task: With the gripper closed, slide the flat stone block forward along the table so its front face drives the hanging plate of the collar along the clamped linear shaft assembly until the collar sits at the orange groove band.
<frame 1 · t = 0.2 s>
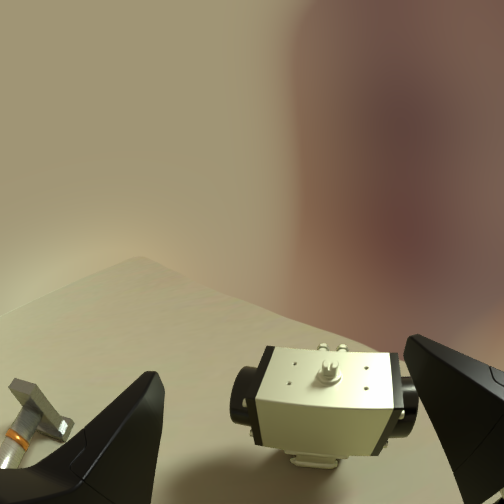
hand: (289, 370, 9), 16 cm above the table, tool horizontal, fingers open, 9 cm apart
linear shaft assembly: (24, 500, 9), on the table
pneumatic valve: (317, 450, 19), on the table
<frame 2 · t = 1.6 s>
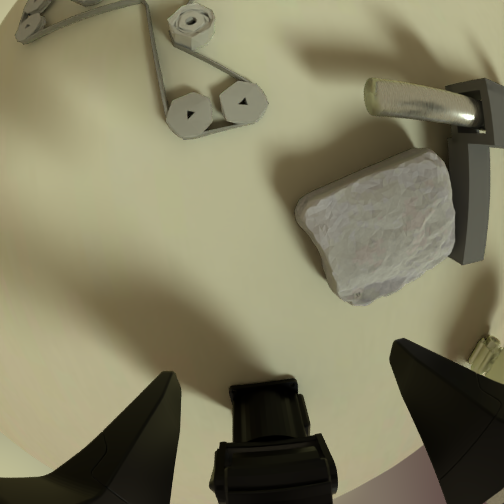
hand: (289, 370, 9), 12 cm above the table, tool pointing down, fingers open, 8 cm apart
collar: (481, 176, 15), point 4 cm above the table, slide at 0.2 cm
stone block: (377, 225, 20), on the table
linear shaft assembly: (451, 117, 17), on the table
pneumatic valve: (479, 348, 26), on the table
pulley system: (147, 6, 14), on the table
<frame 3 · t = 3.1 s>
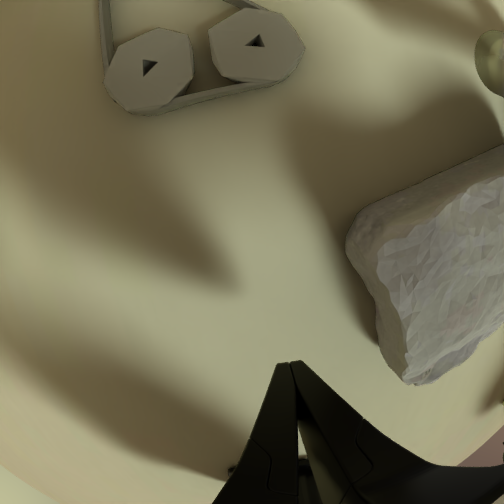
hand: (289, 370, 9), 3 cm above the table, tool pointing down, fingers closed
stone block: (455, 257, 11), on the table
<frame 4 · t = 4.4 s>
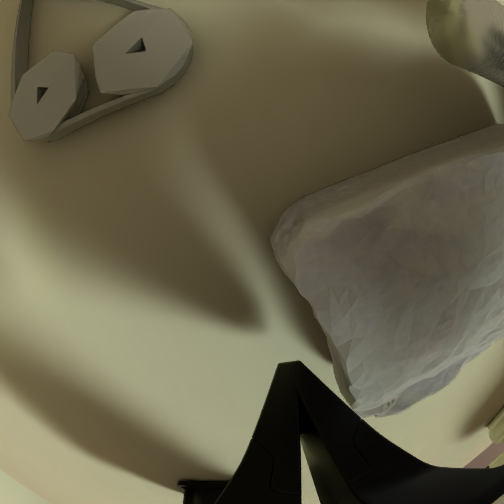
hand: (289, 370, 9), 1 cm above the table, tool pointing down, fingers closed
stone block: (434, 263, 10), on the table, touching gripper
pneumatic valve: (502, 410, 16), on the table
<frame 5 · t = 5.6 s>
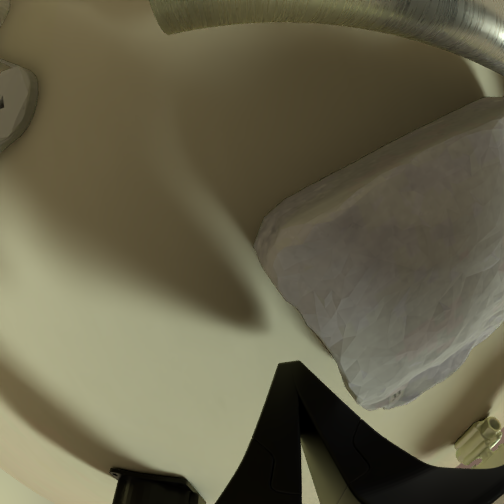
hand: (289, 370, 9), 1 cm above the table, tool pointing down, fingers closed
stone block: (432, 248, 9), on the table, touching gripper
linear shaft assembly: (472, 75, 6), on the table
pneumatic valve: (472, 428, 16), on the table
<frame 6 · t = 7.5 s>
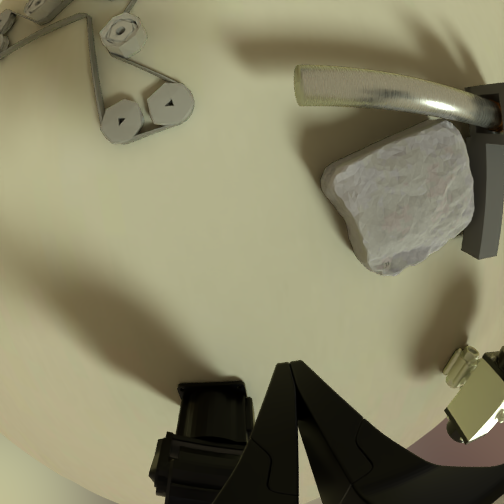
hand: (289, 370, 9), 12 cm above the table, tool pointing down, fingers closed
collar: (497, 174, 15), point 4 cm above the table, slide at 6.9 cm
stone block: (399, 196, 19), on the table
linear shaft assembly: (415, 107, 16), on the table
pneumatic valve: (456, 358, 26), on the table
pulley system: (92, 19, 13), on the table
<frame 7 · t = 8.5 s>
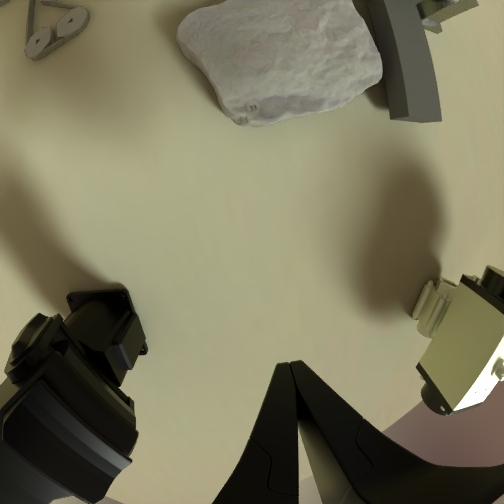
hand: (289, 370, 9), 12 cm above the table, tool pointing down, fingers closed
collar: (409, 23, 11), point 4 cm above the table, slide at 6.9 cm
stone block: (284, 59, 16), on the table
pneumatic valve: (430, 299, 23), on the table
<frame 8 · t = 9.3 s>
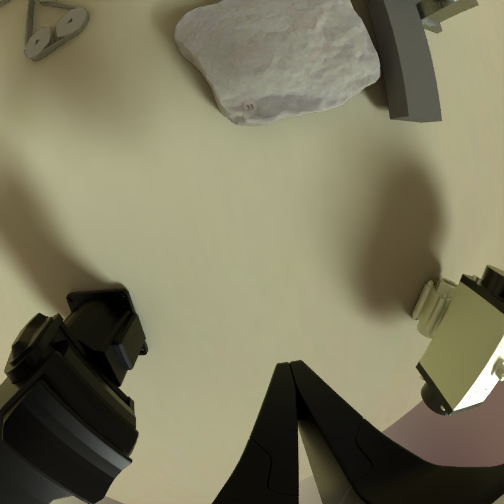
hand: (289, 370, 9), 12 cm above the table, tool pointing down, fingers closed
collar: (409, 23, 11), point 4 cm above the table, slide at 6.9 cm
stone block: (281, 58, 16), on the table
pneumatic valve: (430, 299, 23), on the table
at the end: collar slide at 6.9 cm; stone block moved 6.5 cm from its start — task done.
